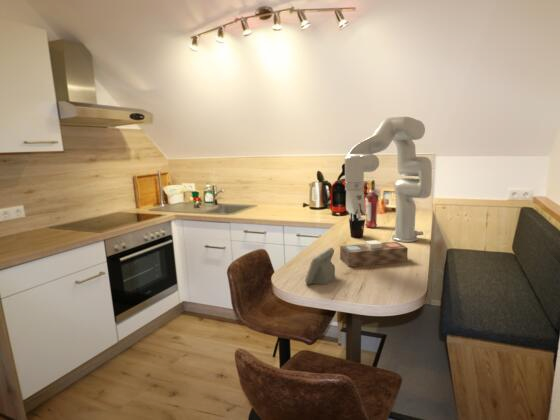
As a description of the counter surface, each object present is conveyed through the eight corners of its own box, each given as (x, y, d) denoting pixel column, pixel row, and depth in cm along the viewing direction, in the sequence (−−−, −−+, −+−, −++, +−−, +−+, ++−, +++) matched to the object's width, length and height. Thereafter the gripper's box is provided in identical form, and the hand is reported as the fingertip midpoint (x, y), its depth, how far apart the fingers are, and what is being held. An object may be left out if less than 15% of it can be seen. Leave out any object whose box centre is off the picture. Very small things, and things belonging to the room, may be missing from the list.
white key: (376, 249, 157) (376, 240, 156) (381, 252, 152) (381, 243, 151) (365, 250, 156) (365, 241, 155) (370, 253, 151) (370, 244, 150)
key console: (395, 254, 161) (396, 241, 160) (407, 261, 152) (407, 247, 151) (340, 259, 157) (340, 245, 156) (348, 266, 147) (348, 252, 146)
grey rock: (323, 270, 143) (323, 245, 142) (343, 275, 137) (343, 248, 136) (297, 282, 132) (297, 254, 130) (318, 288, 126) (317, 259, 124)
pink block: (395, 251, 158) (395, 243, 158) (401, 255, 154) (401, 246, 153) (384, 252, 158) (384, 243, 157) (390, 256, 153) (390, 247, 152)
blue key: (356, 254, 155) (356, 246, 155) (361, 258, 151) (361, 249, 150) (345, 255, 155) (345, 246, 154) (349, 259, 150) (349, 250, 149)
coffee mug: (355, 239, 189) (355, 220, 187) (345, 236, 196) (345, 218, 194) (372, 236, 194) (373, 218, 192) (362, 233, 201) (362, 215, 200)
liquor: (362, 226, 218) (363, 180, 213) (374, 225, 219) (375, 179, 214) (368, 229, 211) (369, 181, 206) (379, 228, 212) (380, 180, 207)
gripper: (370, 187, 141) (370, 233, 144) (356, 183, 155) (356, 224, 159) (352, 189, 139) (352, 234, 143) (339, 184, 154) (339, 226, 158)
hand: (354, 229), depth 151 cm, fingers closed
